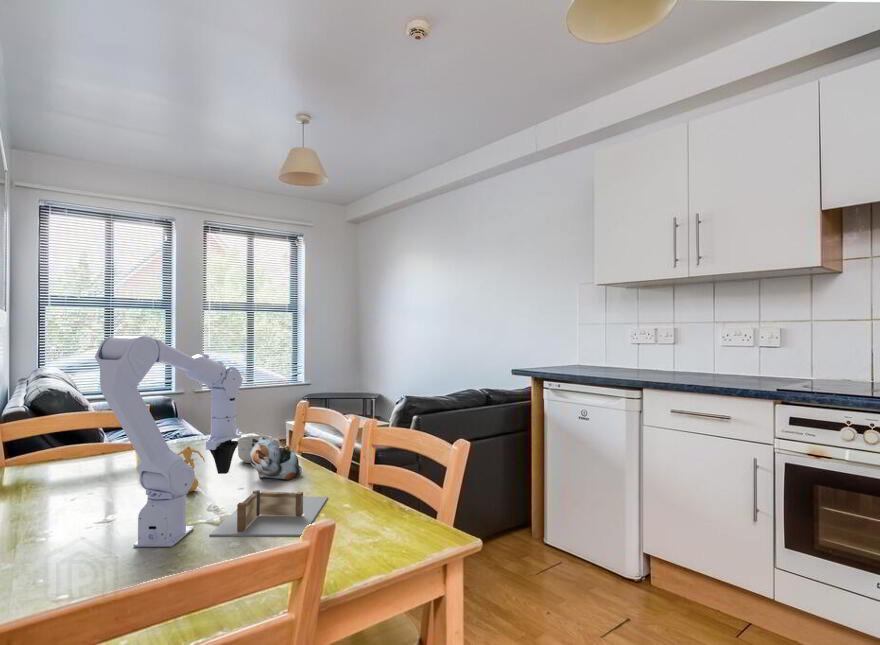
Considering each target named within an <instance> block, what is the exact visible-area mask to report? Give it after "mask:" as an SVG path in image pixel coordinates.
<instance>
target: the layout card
mask: <svg viewBox="0 0 880 645" xmlns="http://www.w3.org/2000/svg"><path fill="white" fill-rule="evenodd" d="M328 498H329V496H303V515H302V516H301V517H300V516H285V515H261V514H260V515H259V516H257V517H256V518H255V519H254V520H253V521H252V522H251V523H250V524H249V525H248V526H247V527H246V529H245V530H244V532H237V509H235V510H234V511H233V512H232V513H231V514H230V515H229V516H228V517H227V518H226V519H224V520H223V521H222V522H221V523H220V524H219V525H218V526H217V527H216V528H215V529H214V530H212V531H211V532H210V533H209V534H208V536H209V537H302V536H301V535H302V532H303V530H304V529H305V527H306V526H307V525H309V524H311V523H312V524H313V522H314V520H315V519H316V517H317V516H318V514H319V513H320V512H321V509H323V507H324V505H325V503H326V502H327V500H328ZM312 524H311V525H312Z"/></svg>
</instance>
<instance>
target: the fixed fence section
mask: <svg viewBox="0 0 880 645" xmlns="http://www.w3.org/2000/svg"><path fill="white" fill-rule="evenodd" d="M260 492H261V490H259V489H256V490H252V493H250V495H249V496H248V497H247V498H245V500H244V501H242V502H239V503H237V506H236V507H237V508H236V510H237V532H244V530H245V529H246V527H247V526H248V525H249V524H250V523H251V522H252V521H253V520H254V519H255V518H256V517H257V516H259V515H260Z"/></svg>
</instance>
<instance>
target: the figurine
mask: <svg viewBox="0 0 880 645" xmlns="http://www.w3.org/2000/svg"><path fill="white" fill-rule="evenodd" d="M193 453H196V454H198V455H199V457H200V458H202V460H203V462H204V463H205V462H206V461H205V458H204V456H203V455H202V453H201V452H200V451H199V450H196V449H194V448H191V446H190V445H188V446H186V447H184V448H183V449H182V450H180V451H179V452H178V453H177V454H178V455H179V456H180V455H183V460H184V462H185V463H186V464H188V465H190V466H191V467H192V468H193V470H194V471H195V468H196V466H195V463H194V458H192V455H193ZM198 486H199V479H197V477H195V478H194V482H193V485H192V486H191V488H190V489H189V490H188V493H191V492H193V491H195V490H197V489H198Z"/></svg>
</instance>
